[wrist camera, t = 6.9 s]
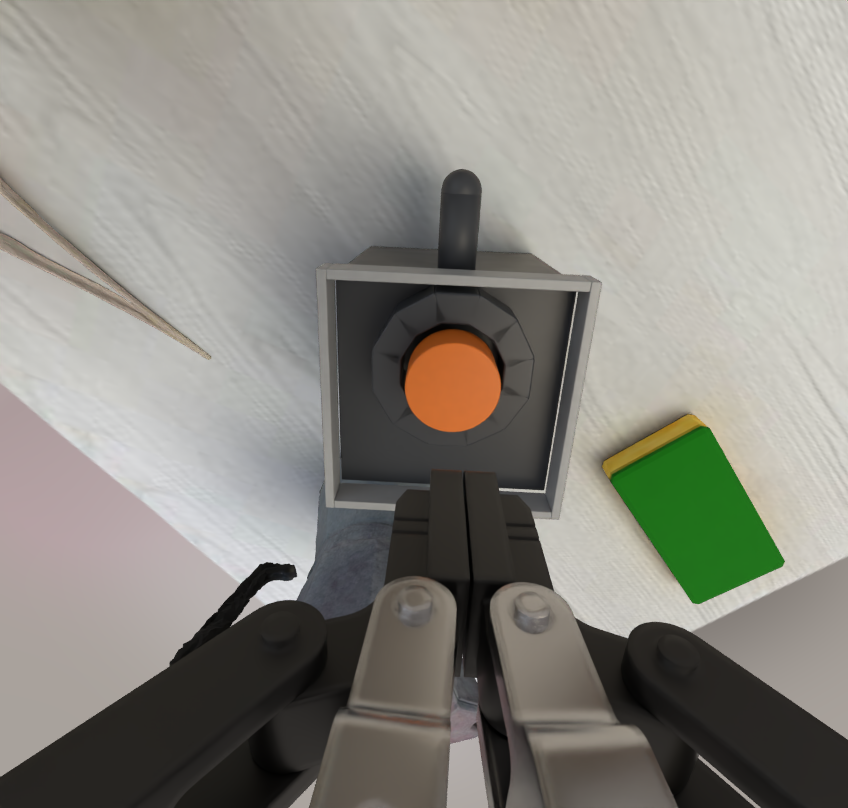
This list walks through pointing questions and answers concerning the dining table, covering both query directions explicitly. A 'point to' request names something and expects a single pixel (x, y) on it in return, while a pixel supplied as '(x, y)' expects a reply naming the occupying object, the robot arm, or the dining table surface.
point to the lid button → (452, 381)
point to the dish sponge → (694, 509)
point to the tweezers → (99, 291)
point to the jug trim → (454, 270)
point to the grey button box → (398, 337)
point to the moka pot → (341, 586)
